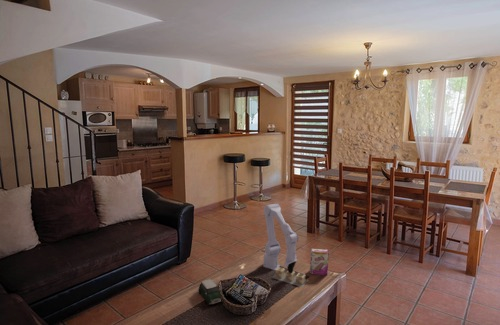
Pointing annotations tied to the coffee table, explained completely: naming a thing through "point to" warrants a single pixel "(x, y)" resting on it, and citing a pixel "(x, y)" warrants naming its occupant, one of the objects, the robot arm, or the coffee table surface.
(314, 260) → the candy bar box
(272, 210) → the robot arm
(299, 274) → the block two
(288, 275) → the plain block
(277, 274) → the block one
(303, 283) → the mat
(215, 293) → the miniature car
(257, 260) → the coffee table surface
